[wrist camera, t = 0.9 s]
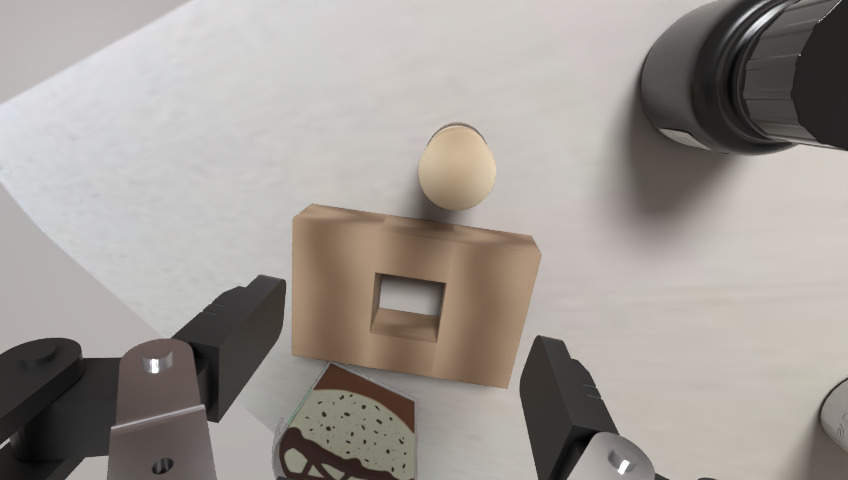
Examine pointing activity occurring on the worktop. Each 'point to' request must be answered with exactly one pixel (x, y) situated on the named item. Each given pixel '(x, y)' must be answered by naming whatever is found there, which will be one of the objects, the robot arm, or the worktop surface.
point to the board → (416, 258)
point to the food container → (348, 431)
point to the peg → (457, 167)
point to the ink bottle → (752, 76)
